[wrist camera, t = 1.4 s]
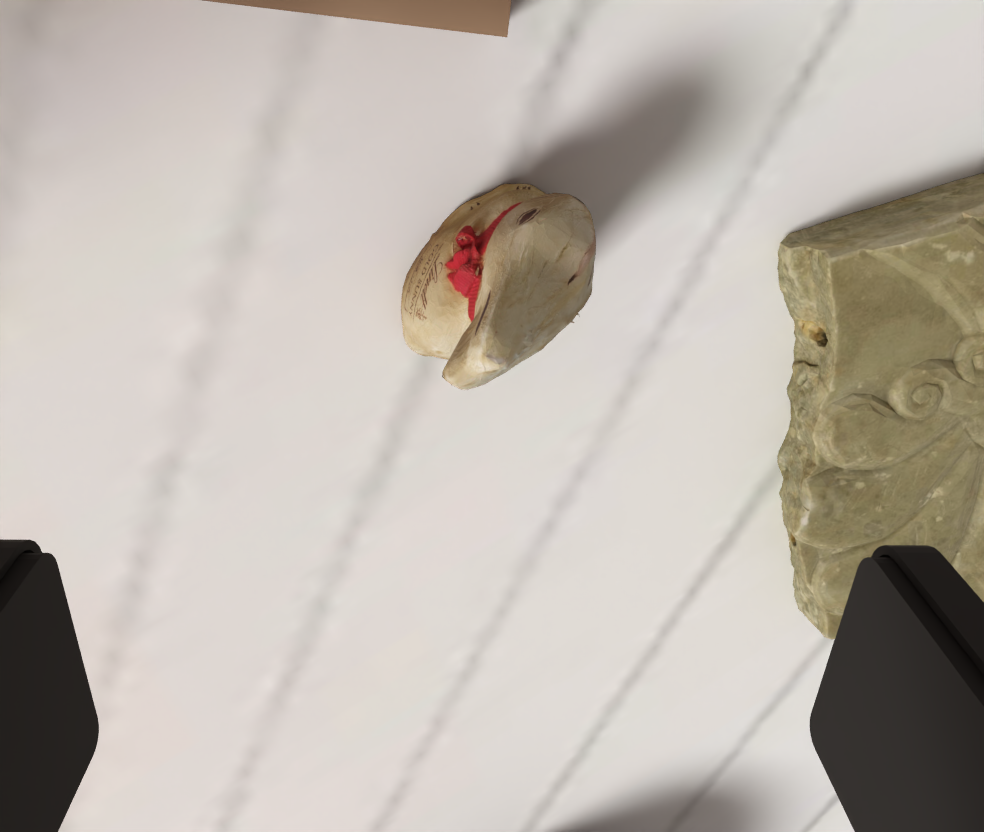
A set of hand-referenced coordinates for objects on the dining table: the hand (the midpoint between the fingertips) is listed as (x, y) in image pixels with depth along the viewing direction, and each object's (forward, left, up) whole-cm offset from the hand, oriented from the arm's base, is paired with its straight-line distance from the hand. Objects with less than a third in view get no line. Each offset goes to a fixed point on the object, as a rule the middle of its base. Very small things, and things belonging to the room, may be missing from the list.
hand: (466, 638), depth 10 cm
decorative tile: (-6, -24, -23) cm, 34 cm away
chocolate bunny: (-2, -2, -23) cm, 23 cm away
